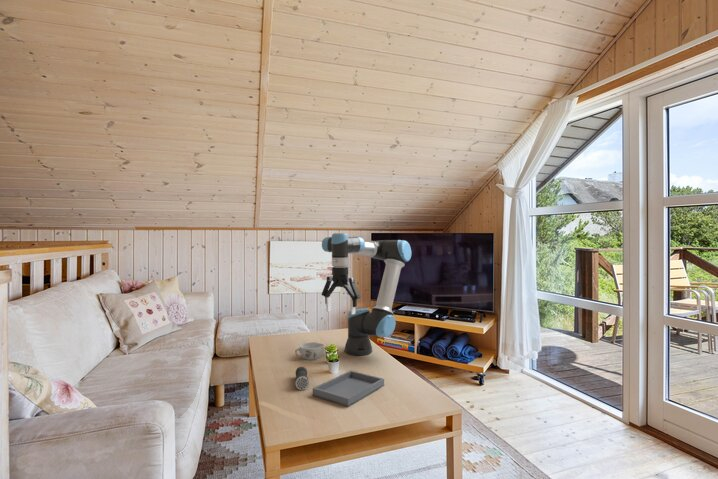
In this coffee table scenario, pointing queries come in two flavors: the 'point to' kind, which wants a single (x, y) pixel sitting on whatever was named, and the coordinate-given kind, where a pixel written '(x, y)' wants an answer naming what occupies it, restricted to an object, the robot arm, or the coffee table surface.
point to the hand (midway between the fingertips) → (340, 312)
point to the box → (348, 388)
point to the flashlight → (300, 374)
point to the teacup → (310, 350)
